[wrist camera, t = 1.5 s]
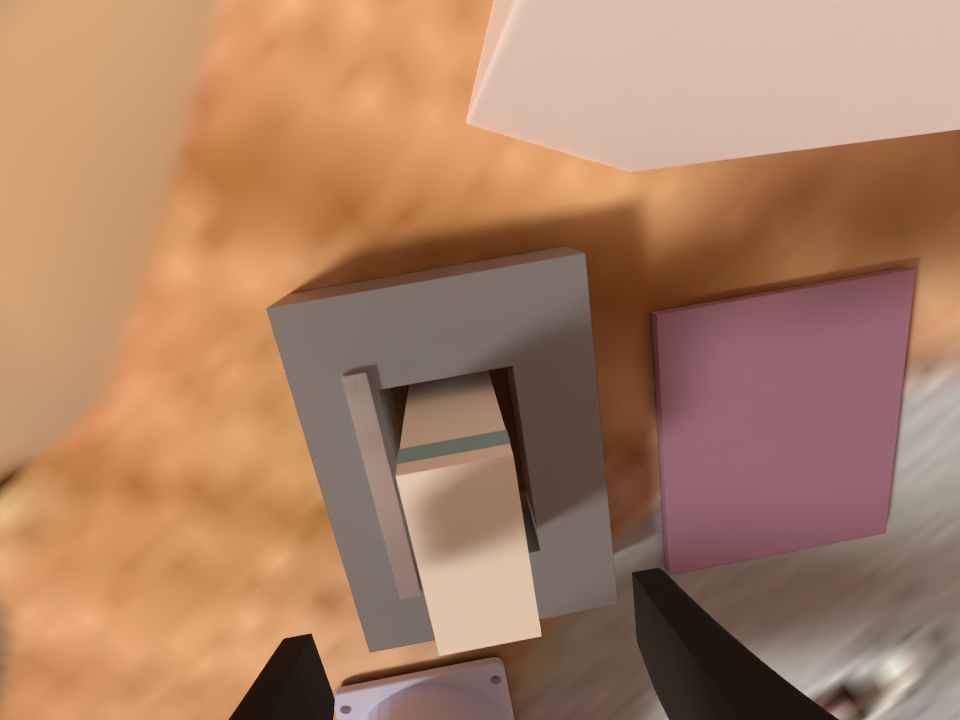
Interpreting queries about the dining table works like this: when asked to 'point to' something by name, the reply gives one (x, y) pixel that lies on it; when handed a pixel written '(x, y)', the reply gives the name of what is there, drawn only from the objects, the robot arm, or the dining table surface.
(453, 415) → the striped tan bar
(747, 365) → the mat
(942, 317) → the dining table surface
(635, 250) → the dining table surface
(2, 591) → the dining table surface
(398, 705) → the robot arm
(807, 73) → the milk
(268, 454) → the dining table surface
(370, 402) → the grey rectangular frame
